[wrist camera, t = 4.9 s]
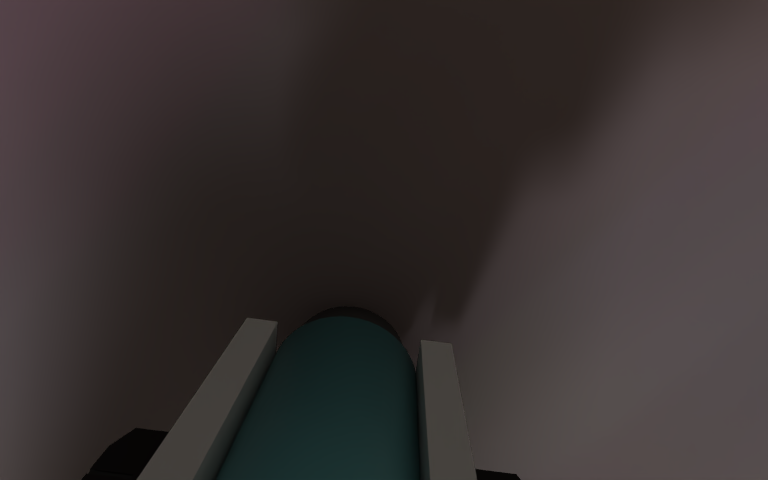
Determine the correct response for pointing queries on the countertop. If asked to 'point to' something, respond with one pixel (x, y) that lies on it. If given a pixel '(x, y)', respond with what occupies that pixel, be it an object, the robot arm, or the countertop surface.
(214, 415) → the robot arm
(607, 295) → the countertop surface
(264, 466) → the teal and grey cylinder
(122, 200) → the countertop surface
